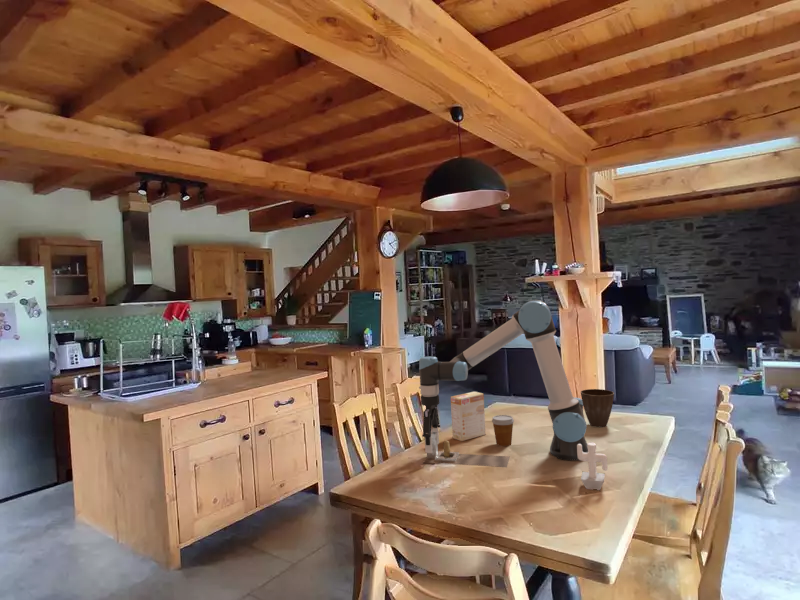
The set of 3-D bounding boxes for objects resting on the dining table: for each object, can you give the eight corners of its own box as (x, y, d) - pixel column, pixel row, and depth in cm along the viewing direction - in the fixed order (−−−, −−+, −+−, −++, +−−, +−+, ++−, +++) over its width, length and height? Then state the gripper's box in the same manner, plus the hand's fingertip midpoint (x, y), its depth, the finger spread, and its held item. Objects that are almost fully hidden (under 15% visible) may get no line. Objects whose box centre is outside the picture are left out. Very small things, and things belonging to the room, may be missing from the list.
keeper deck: (509, 457, 202) (509, 438, 202) (507, 468, 191) (506, 448, 191) (430, 453, 212) (429, 435, 212) (423, 463, 201) (422, 444, 201)
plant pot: (590, 419, 251) (589, 387, 251) (620, 424, 240) (619, 391, 240) (576, 426, 241) (574, 393, 241) (606, 431, 230) (605, 397, 230)
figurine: (608, 492, 165) (606, 447, 165) (577, 489, 169) (576, 445, 168) (608, 484, 172) (606, 441, 171) (579, 481, 175) (577, 439, 175)
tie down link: (459, 455, 207) (457, 431, 206) (455, 462, 199) (453, 437, 198) (430, 453, 210) (429, 430, 210) (425, 460, 202) (424, 435, 202)
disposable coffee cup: (490, 447, 216) (489, 419, 216) (495, 440, 225) (493, 414, 224) (513, 449, 212) (511, 421, 212) (516, 442, 221) (515, 415, 221)
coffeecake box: (476, 431, 240) (474, 391, 240) (486, 434, 234) (484, 393, 234) (451, 438, 232) (449, 396, 232) (461, 441, 226) (459, 398, 226)
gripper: (427, 388, 217) (430, 438, 218) (413, 401, 195) (415, 457, 196) (444, 388, 215) (447, 439, 216) (431, 401, 193) (434, 458, 193)
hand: (432, 447), depth 206 cm, fingers open, 11 cm apart
